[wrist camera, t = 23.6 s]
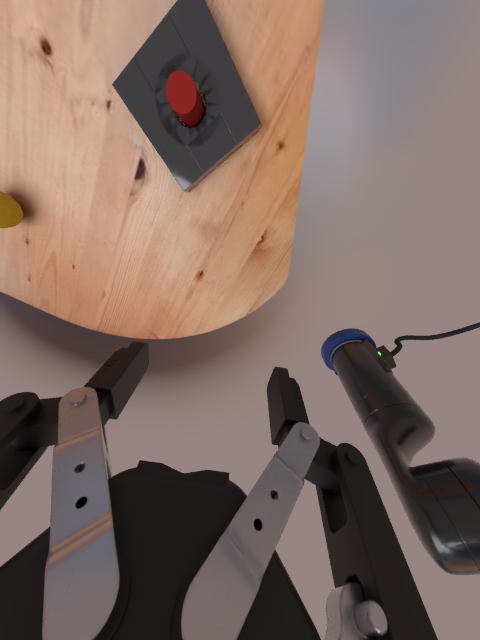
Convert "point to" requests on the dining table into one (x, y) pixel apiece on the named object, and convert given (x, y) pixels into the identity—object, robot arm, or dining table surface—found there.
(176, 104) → the stopper
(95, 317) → the dining table surface
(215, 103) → the grey square base
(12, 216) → the lemon
